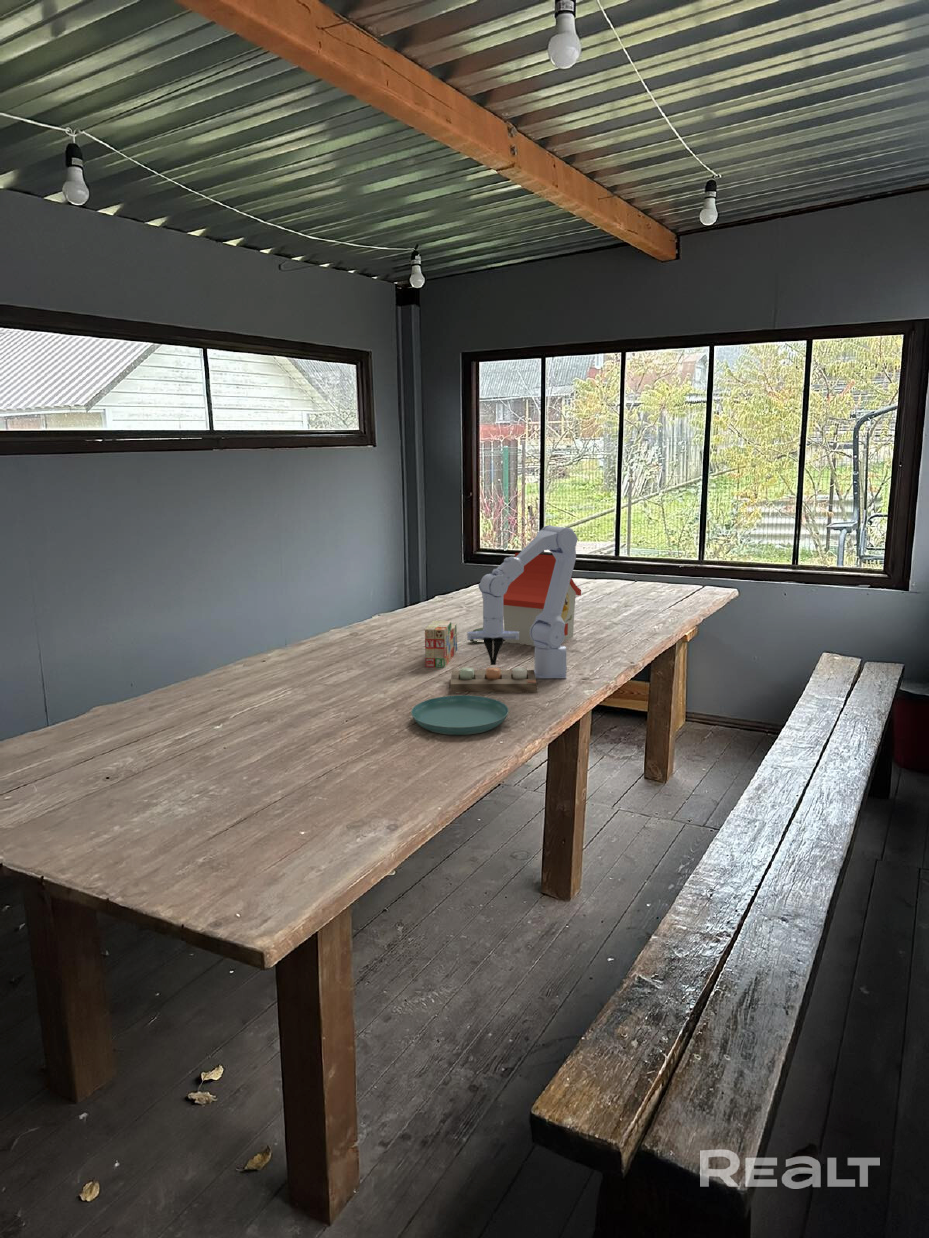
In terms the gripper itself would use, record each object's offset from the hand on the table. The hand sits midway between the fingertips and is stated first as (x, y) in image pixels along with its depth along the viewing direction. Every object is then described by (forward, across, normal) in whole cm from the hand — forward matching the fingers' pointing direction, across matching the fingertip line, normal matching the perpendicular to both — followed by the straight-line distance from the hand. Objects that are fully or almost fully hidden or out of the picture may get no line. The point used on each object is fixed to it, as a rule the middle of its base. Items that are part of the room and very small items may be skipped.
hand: (493, 663), depth 239 cm
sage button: (+5, -7, 0) cm, 9 cm away
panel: (+6, 0, 0) cm, 6 cm away
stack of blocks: (+7, -16, +30) cm, 35 cm away
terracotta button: (+5, 0, 0) cm, 5 cm away
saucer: (+7, -9, -31) cm, 33 cm away
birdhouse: (+6, +14, +58) cm, 60 cm away
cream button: (+5, +8, 0) cm, 9 cm away
